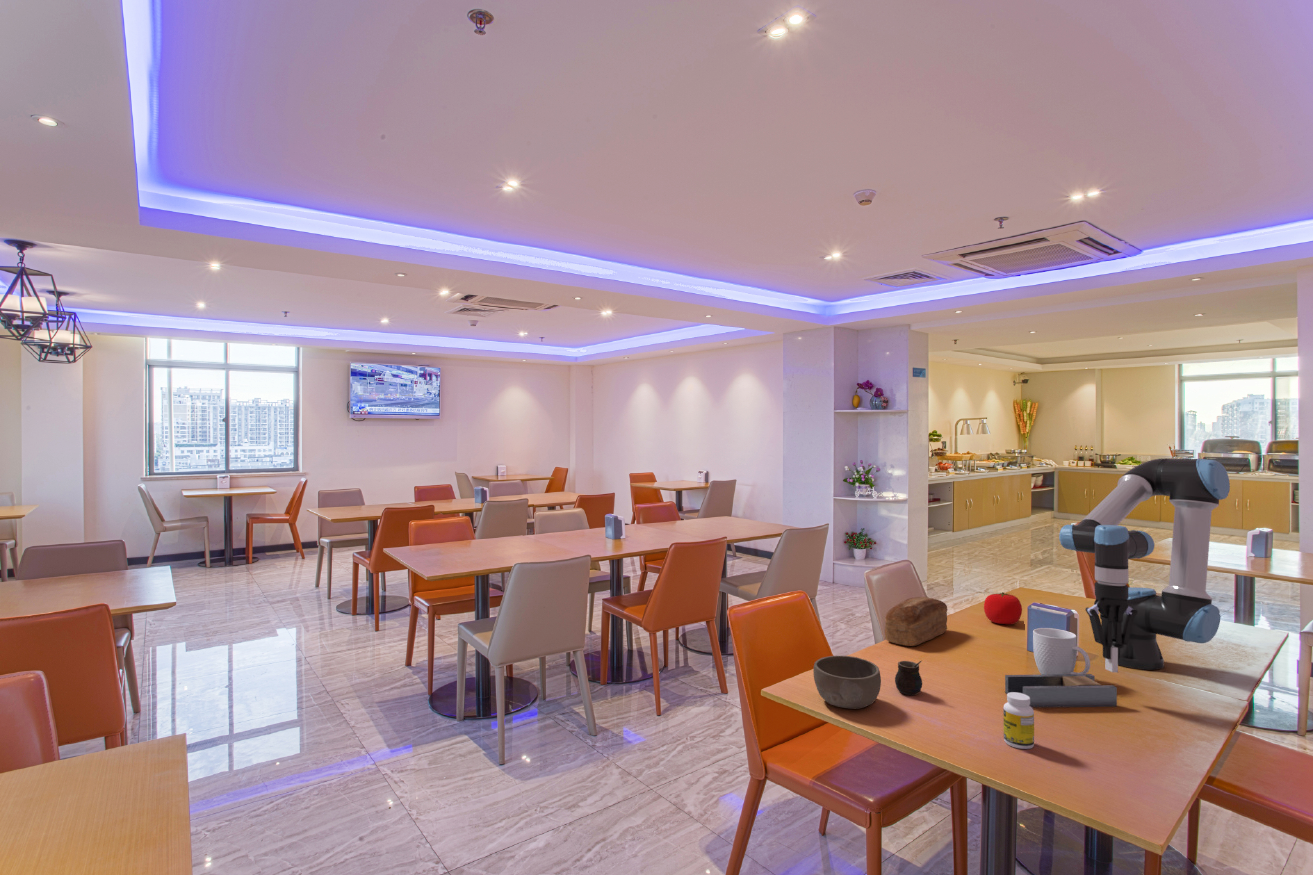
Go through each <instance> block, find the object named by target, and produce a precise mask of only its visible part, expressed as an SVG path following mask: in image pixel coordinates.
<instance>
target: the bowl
mask: <svg viewBox="0 0 1313 875" xmlns="http://www.w3.org/2000/svg"><path fill="white" fill-rule="evenodd" d="M813 664H814V665H813V671H812V672H813V681H814V684H815V687H816V690H817V692H818V694H819V696H820V697H821V698H822V699H823V700H824V702H826V703H828V704H829V705H831V706H833V707H836V708H837V707H838V708H841V709H848V710H850V709H851V710H853V709H854V710H858V709H863V708H866V707H867V706H870V705H872V704H873V703H874V702H875V701H876V699H877V698H878V696H879V694H880V691H881V686H882V679H881V678H882V677H881V671H880V668H879V667H878V666H877V664H875V663H873V662H871V661H870V660H867V659H864V658H862V657H861V658H860V657H856V656H851V655H829V656H824V657H820V658H819V659H817V660H816V661H815V662H814V663H813Z"/></svg>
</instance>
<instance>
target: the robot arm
mask: <svg viewBox="0 0 1313 875" xmlns="http://www.w3.org/2000/svg"><path fill="white" fill-rule="evenodd" d="M1230 484H1231V483H1230V477H1229V474H1228V472H1227V470H1226V467H1225V466H1224V465H1223V464H1222V463H1221V462H1219V461H1218V460H1215V459H1205V458H1156V459H1154V458H1153V459H1151V460H1148V461H1145V462H1143V463H1140V464H1137V465H1136V466H1134V467H1132V468H1131V469H1129V470H1128V471H1127V472H1125V473H1124V474H1123V475H1122V476H1121V477H1120V478H1119V479H1118V480H1117V486H1116V487H1115V488H1114V489H1112V490H1111V492H1110V493H1109V494H1108V495H1106V497H1104V498H1103V500H1101V501H1100V503H1098V505H1096V506H1095V507H1094V508H1093V509H1092V510H1091V511H1090V512H1089V513H1088V514H1087V515H1086V516H1085V517H1084V518H1083V519H1082V520H1081V521H1080V522H1079V523H1077V524H1073V523H1072V524H1064V525H1063V526H1062V527H1061V529H1060V531H1059V535H1058V537H1059V542H1060V545H1061V546H1062V548H1064V549H1065V550H1071V551H1074V552H1082V553H1090V554H1094V580H1095V582H1094V596H1095V600H1094V601H1093V602H1094V603H1093V605H1092V606H1091V607H1089V606H1088V607H1085V612H1086V614H1087V615H1088V617H1089V622H1090V625H1091V630H1092V634H1093V638H1094V642H1095V643H1098V644H1100V645H1101V646H1102V657H1103V658H1104V660H1105V662H1104V665H1105V666H1104V668H1105V670H1106V671H1109V672H1111V673H1119V672H1118V670H1119V666H1122V667H1126V668H1130V669H1131V668H1132V669H1136V670H1137V669H1138V670H1147V671H1148V670H1149V671H1150V670H1152V671H1153V670H1161V669H1163V668H1164V667H1165V662H1164V657H1163V654H1162V652H1161V649H1160V647H1159V644H1158V640H1157V635H1159V636H1164V637H1168V638H1172V639H1177V640H1181V641H1184V642H1191V643H1196V644H1206V643H1209V642H1210V641H1212V640H1213V638H1214V637H1215V636H1216V635H1217V632H1218V630H1219V629H1220V628H1219V627H1220V624H1221V623H1220V622H1221V614H1220V609H1219V607H1217V606H1216V605H1215V604H1212V600H1213V598H1212V597H1211V596H1210V594H1208V593H1207V580H1208V578H1207V577H1208V565H1209V563H1208V562H1209V551H1210V549H1209V548H1210V536H1211V524H1212V523H1211V522H1212V511H1213V510H1214V509H1217V508H1218V507H1219V505H1220V504H1219V503H1220V500H1226V499H1227V498H1228V496H1229V494H1230V489H1231V488H1230V487H1231V486H1230ZM1155 496H1164V497H1169V498H1168V500H1169V501H1168V502H1169V503H1171V505H1173V507H1174V515H1173V528H1172V529H1173V530H1172V539H1171V552H1170V553H1171V554H1170V565H1169V567H1170V568H1169V578H1168V579H1169V581H1168V585H1167V586H1166V587H1165V588H1164V589H1162V590H1161V595H1157V594H1158V593H1157V591H1156V589H1155V588H1148V587H1130V586H1129V585H1128V583H1129V581H1130V580H1129V560H1132V559H1133V560H1134V559H1143V558H1144V557H1148V556H1150V555H1151V554H1152V553H1153V552H1154V551H1155V550H1154V549H1155V542H1154V539H1153V537H1152V536H1151V535H1150V534H1149V533H1147V532H1145V531H1143V530H1136V529H1132V530H1128V528H1127V527H1126V526H1124V525H1119V524H1121V522H1122V521H1124V520H1125V518H1127V517H1128V515H1129V514H1130V513H1131V512H1132V511H1133V510H1134V509H1135V508H1136V507H1137V506H1138V505H1139V504H1140V503H1142V502H1145V501H1148V500H1149V499H1150V498H1151V497H1155Z"/></svg>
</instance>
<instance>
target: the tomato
mask: <svg viewBox="0 0 1313 875" xmlns="http://www.w3.org/2000/svg"><path fill="white" fill-rule="evenodd" d="M983 611H984V613H985V617H986V618H987V619H988V620H989V621H991V622H993V623H994V624H999V625H1009V626H1010V625H1015V624H1017V623H1018V622H1019V621H1020V619H1021V616H1022V614H1023V606H1022V603H1021V601H1020V599H1019V598H1018V597H1016V595H1013V594H1011V593H1005V592H997V593H991V594H988V595H987V596H986V597H985V600H984V604H983Z"/></svg>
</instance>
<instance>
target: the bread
mask: <svg viewBox="0 0 1313 875" xmlns="http://www.w3.org/2000/svg"><path fill="white" fill-rule="evenodd" d="M948 610H949V609H948V605H947V604H946V602H944V601H942V600H939V599H936V598H932V597H928V596H916V597H910V598H907V599H904V600H902V601H901V602H899V603H898V604H896V605H894V606H893V607H892V608H890V609H889V610H888V611H887V613H886V614H885V616H884V620H885V621H884V622H885V625H884V626H885V627H884V636H885V640H886V641H888V642H890V643H893V644H897V645H900V646H905V647H915V646H919V645H921V644H923V643H925V642H927V641H931V640H933V639H934V638H936V637H938V636H940V635H943V634H944V633H945V632H946V631H947V629H948V626H947V623H948Z"/></svg>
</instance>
